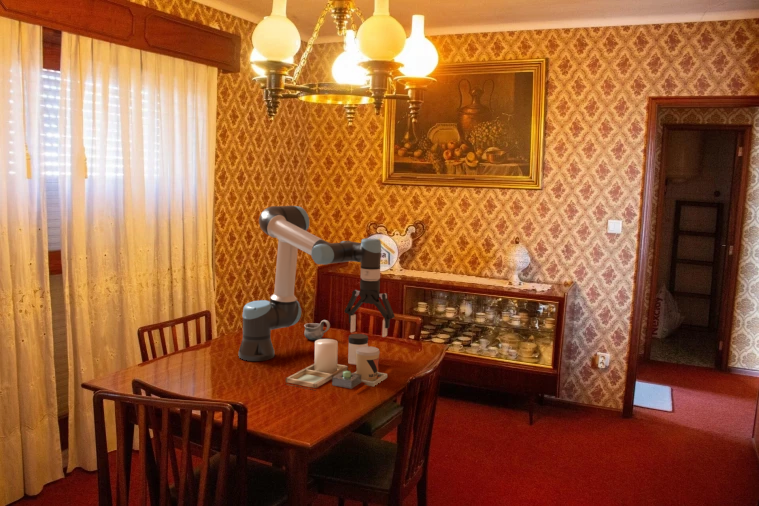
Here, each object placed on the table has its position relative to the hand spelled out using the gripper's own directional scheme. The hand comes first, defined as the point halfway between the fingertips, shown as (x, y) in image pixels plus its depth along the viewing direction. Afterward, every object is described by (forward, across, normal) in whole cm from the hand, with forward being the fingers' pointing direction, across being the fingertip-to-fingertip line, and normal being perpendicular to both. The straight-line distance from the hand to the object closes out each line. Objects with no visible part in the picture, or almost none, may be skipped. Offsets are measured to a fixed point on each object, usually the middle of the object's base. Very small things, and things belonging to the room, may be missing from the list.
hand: (368, 333), depth 233 cm
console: (+18, -3, -11) cm, 21 cm away
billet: (+17, -17, -2) cm, 24 cm away
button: (+17, -3, -11) cm, 20 cm away
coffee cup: (+18, 0, 0) cm, 18 cm away
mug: (+18, -46, +40) cm, 63 cm away
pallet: (+18, -17, -8) cm, 26 cm away
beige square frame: (+18, 0, 0) cm, 18 cm away
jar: (+18, -12, +16) cm, 27 cm away
